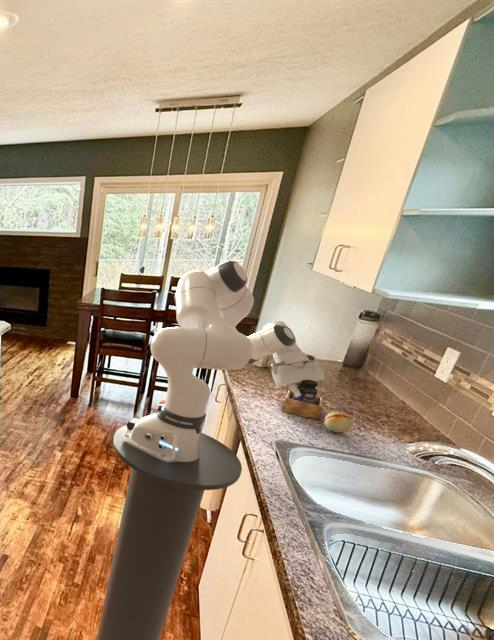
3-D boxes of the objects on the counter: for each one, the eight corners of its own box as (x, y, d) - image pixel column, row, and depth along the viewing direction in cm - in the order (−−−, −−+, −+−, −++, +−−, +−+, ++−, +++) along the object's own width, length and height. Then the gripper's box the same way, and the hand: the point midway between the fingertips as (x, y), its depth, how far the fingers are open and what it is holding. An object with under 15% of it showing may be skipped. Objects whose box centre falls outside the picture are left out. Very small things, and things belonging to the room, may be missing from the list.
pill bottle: (300, 412, 143) (311, 385, 139) (285, 405, 149) (295, 378, 144) (314, 411, 144) (325, 384, 140) (298, 404, 150) (308, 377, 146)
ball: (320, 424, 137) (327, 406, 134) (346, 430, 133) (354, 411, 130) (321, 432, 131) (329, 413, 129) (348, 438, 128) (357, 419, 125)
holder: (281, 410, 146) (285, 398, 144) (284, 401, 153) (288, 390, 151) (317, 419, 140) (322, 407, 138) (318, 410, 147) (323, 397, 145)
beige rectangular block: (268, 367, 191) (274, 347, 187) (260, 367, 190) (266, 347, 187) (259, 363, 196) (265, 344, 192) (251, 364, 195) (257, 344, 191)
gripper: (276, 359, 143) (293, 394, 138) (318, 356, 148) (336, 390, 143) (262, 366, 149) (278, 400, 144) (302, 363, 154) (319, 396, 149)
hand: (307, 395), depth 144 cm, fingers closed on pill bottle, 6 cm apart
